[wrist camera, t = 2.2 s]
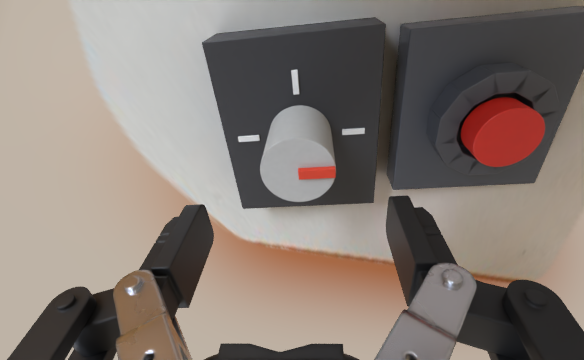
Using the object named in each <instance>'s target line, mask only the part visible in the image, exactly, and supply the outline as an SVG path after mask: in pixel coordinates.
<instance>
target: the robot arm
mask: <svg viewBox="0 0 584 360" xmlns="http://www.w3.org/2000/svg"><path fill="white" fill-rule="evenodd" d="M386 234H387V239H388V243H389V246H390V249H391V253H392V256H393V259H394V263H395V266H396V270H397V273H398V276H399V280H400V283H401V287H402V290H403V293H404V297H405V300H406V303H407V306H409V308H408V309H407V310H403V311H402V313H401V314H400V316H399V317H398V319H397V321H396V323H395V324H394V326H393V328H392V330H391V331H390V333H389V335H388V337H387V338H386V340H385V342H384V344H383V345H382V347H381V349H380V351H379V352H378V354H377V356H376V358H375V359H374V360H449V359H450V357H451V354H452V352H453V349H454V347H455V344H456V342H460V343H463V344H467V345H470V346H473V347H476V348H480V349H483V350H486V351H488V354H489V356H490V359H491V360H584V331H583V330H582V328H581V327H580V326H579V324H578V323H577V321H576V320H575V319H574V317H573V316H572V314H571V313H570V311H569V310H568V309H567V307H566V306H565V304H564V303H563V302H562V300H561V299H560V298H559V297H558V296H557V295H556V294H555V293H554V292H553V291H552V290H550V289H549V288H547V287H545V286H543V285H541V284H539V283H536V282H533V281H529V280H516V281H513V282H512V283H510V284H509V286H508V288H504V287H499V286H495V285H491V284H487V283H483V282H480V281H477V280H475V279H474V277H473V276H472V275H471V274H470V273H469V272H468V271H467V270H466V269H464V268H463V267H460V266H458V265H457V263H456V261H455V259H454V257H453V255H452V253H451V251H450V249H449V247H448V246H447V244H446V242H445V240H444V238H443V236H442V235H441V232H440V230H439V228H438V227H437V224H436V222H435V220H434V218H433V216H432V215H431V214H430V213H429V212H427V211H426V210H425V209H424V208H423V207H419V208H414V206H413V204H412V202H411V200H410V198H409V196H391V197H389V200H388V209H387V219H386ZM213 237H214V233H213V229H212V225H211V223H210V219H209V216H208V213H207V210H206V207H205V206H204V205H203V204H202V205H186V206H185V207H184V209H183V210H182V212H181V214H180V216H179V217H174V218H173V219H172V220H171V221H170V222H169V223H167V224H166V225H165V227H164V229H163V230H162V232H161V234H160V236H159V237H158V239H157V240H156V243H155V244H154V245H153V247H152V249H151V250H150V252H149V254H148V255H147V257H146V259H145V261H144V262H143V264H142V266H141V267H140V269H139V270H137V271H134V272H132V273H130V274H128V275H126V276H125V277H123V278H122V279H121V280H120V281H119V282H118V283H117V285H116V286H115V288H113V289H110V290H107V291H103V292H100V293H96V294H93V295H92V294H91V293H90V291H89V290H88V289H87V288H85V287H75V288H71V289H68V290H66V291H64V292H63V293H61V294H59V295H58V296H57V297H56V298H54V299H53V300H52V301H51V303H49V305H48V306H47V307H46V309H45V310H44V311H43V313H42V314H41V315H40V317H39V318H38V319H37V321H36V322H35V323H34V325H33V326H32V327H31V329H30V330H29V331H28V333H27V334H26V336H25V337H24V338H23V339H22V341H21V342H20V344H19V345H18V346H17V347H16V349H15V350H14V351H13V353H12V354H11V355H10V357H9V358H8V359H7V360H65V358H66V357H67V355H68V353H69V352H70V350H71V348H72V347H73V348H74V351H73V352H72V354H71V356H70V357H69V359H68V360H113V358H114V356H115V354H116V352H117V354H118V360H192V358H191V355H190V353H189V350H188V347H187V345H186V342H185V340H184V337H183V335H182V332H181V329H180V326H179V324H178V321H177V318H176V317H175V314H176V312H177V309H178V308H189V305H190V303H191V300H192V297H193V295H194V292H195V289H196V286H197V284H198V281H199V279H200V276H201V273H202V271H203V268H204V265H205V263H206V260H207V257H208V255H209V252H210V249H211V247H212V244H213ZM205 360H359V359H357V358H354V357H352V356H350V355H347V354H344V353H343V344H310V345H306V346H303V347H298V348H295V349H291V350H287V351H283V352H277V351H273V350H269V349H266V348H263V347H259V346H256V345H252V344H221V346H220V349H219V353H218V354H217V355H213V356H211V357H208V358H206V359H205Z"/></svg>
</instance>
